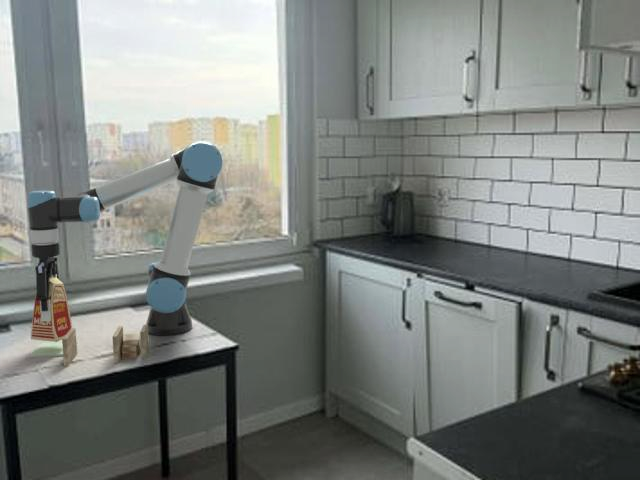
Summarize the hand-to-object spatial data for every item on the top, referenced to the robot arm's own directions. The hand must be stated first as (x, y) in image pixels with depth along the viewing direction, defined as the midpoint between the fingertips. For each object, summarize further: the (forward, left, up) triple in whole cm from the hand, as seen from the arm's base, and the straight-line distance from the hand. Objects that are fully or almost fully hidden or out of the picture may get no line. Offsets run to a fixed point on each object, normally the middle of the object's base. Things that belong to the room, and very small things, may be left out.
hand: (51, 316), depth 181 cm
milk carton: (0, 0, -7) cm, 7 cm away
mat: (0, 0, -11) cm, 11 cm away
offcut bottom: (-24, +7, -11) cm, 28 cm away
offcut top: (-24, +8, -7) cm, 26 cm away
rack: (-18, +9, -11) cm, 23 cm away
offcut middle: (-24, +7, -9) cm, 27 cm away
